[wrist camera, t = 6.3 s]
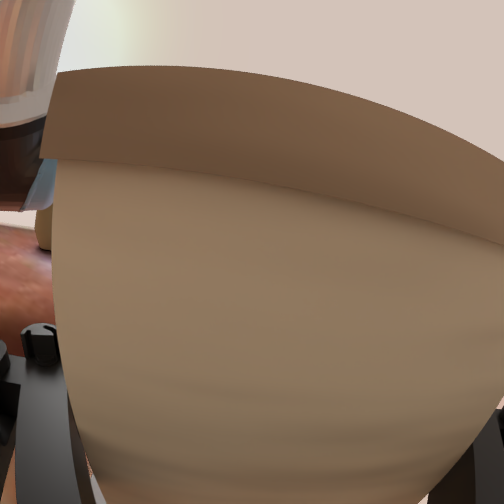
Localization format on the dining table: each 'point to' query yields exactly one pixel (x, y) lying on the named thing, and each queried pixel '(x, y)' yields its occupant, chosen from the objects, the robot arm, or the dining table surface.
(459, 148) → the wooden block
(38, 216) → the squeeze bottle
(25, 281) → the dining table surface
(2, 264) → the dining table surface
